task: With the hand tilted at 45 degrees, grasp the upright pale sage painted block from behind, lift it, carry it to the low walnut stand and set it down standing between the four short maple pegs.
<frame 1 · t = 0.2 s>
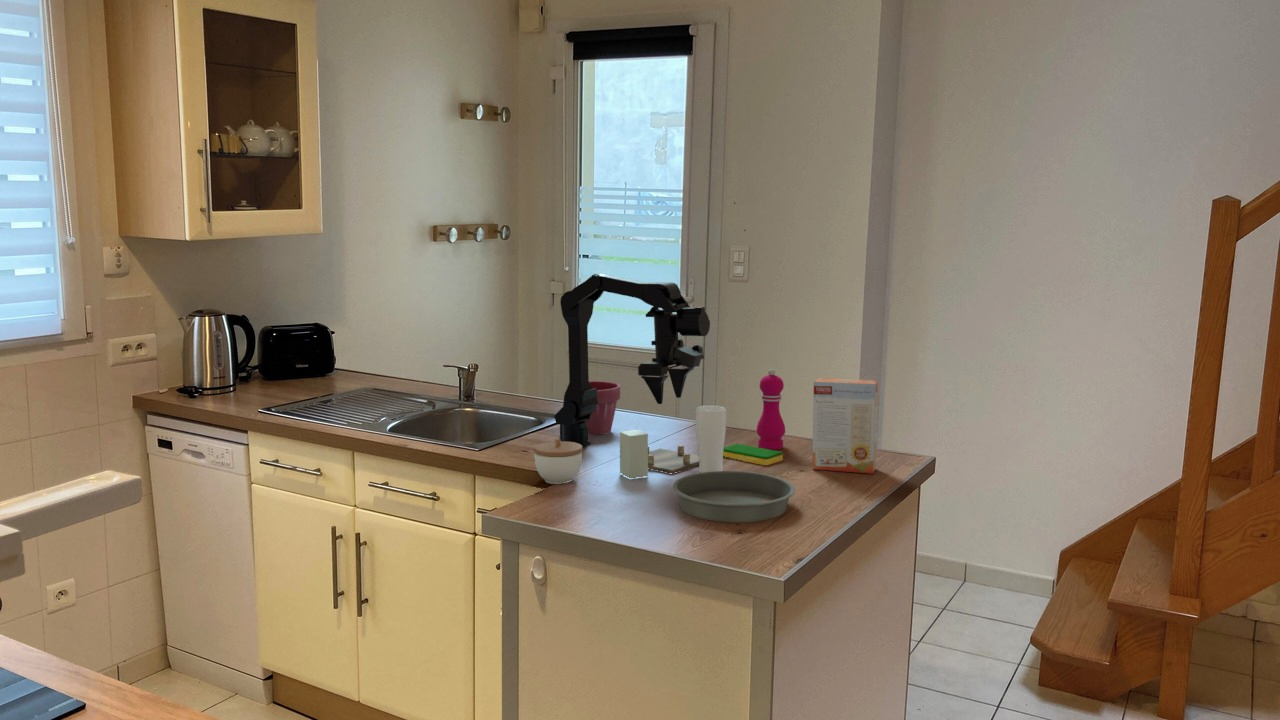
hand: (669, 400, 239), 14 cm above the worktop, tool pointing down, fingers open, 9 cm apart
dish sponge: (751, 460, 242), on the worktop
sage block: (633, 476, 225), on the worktop
drinking glass: (710, 473, 228), on the worktop
plant pot: (594, 432, 272), on the worktop
pepper mill: (770, 447, 253), on the worktop
lidded jar: (558, 481, 222), on the worktop
peg stand: (665, 463, 237), on the worktop
cake pan: (733, 508, 202), on the worktop
cracker box: (843, 470, 231), on the worktop
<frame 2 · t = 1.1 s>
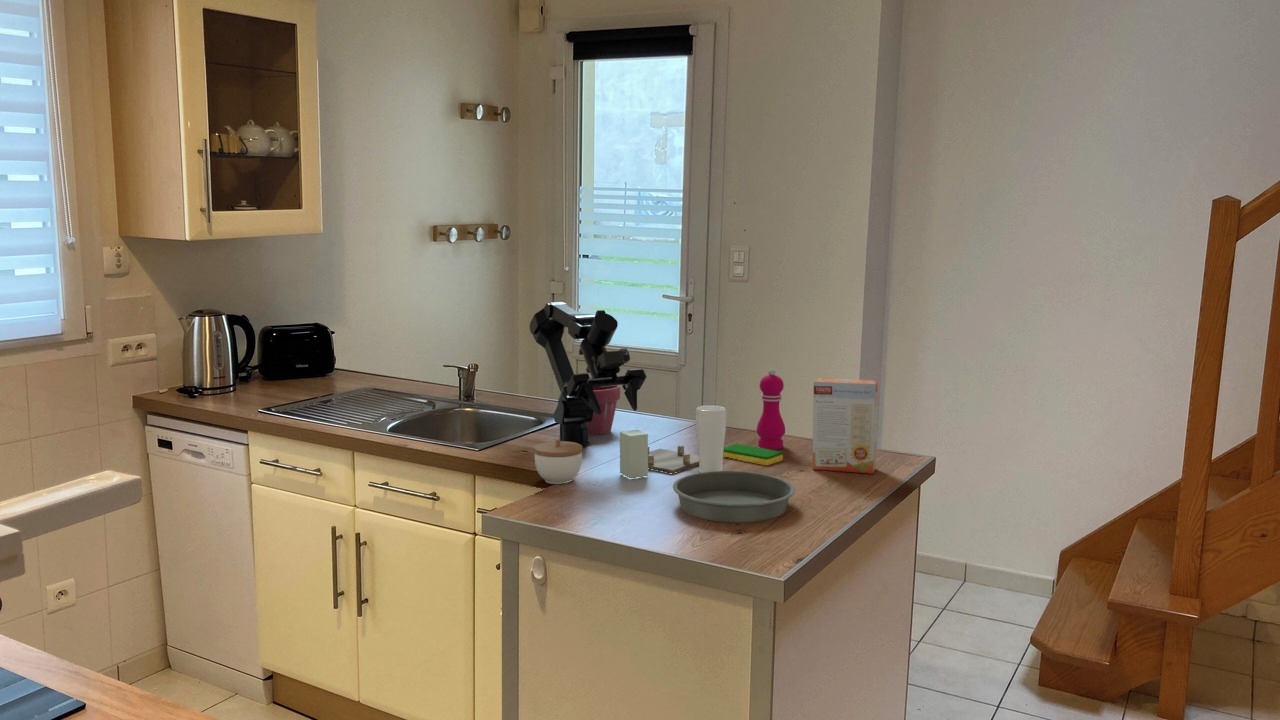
hand: (618, 411, 230), 13 cm above the worktop, tool tilted 45°, fingers open, 9 cm apart
nothing on the worktop moved.
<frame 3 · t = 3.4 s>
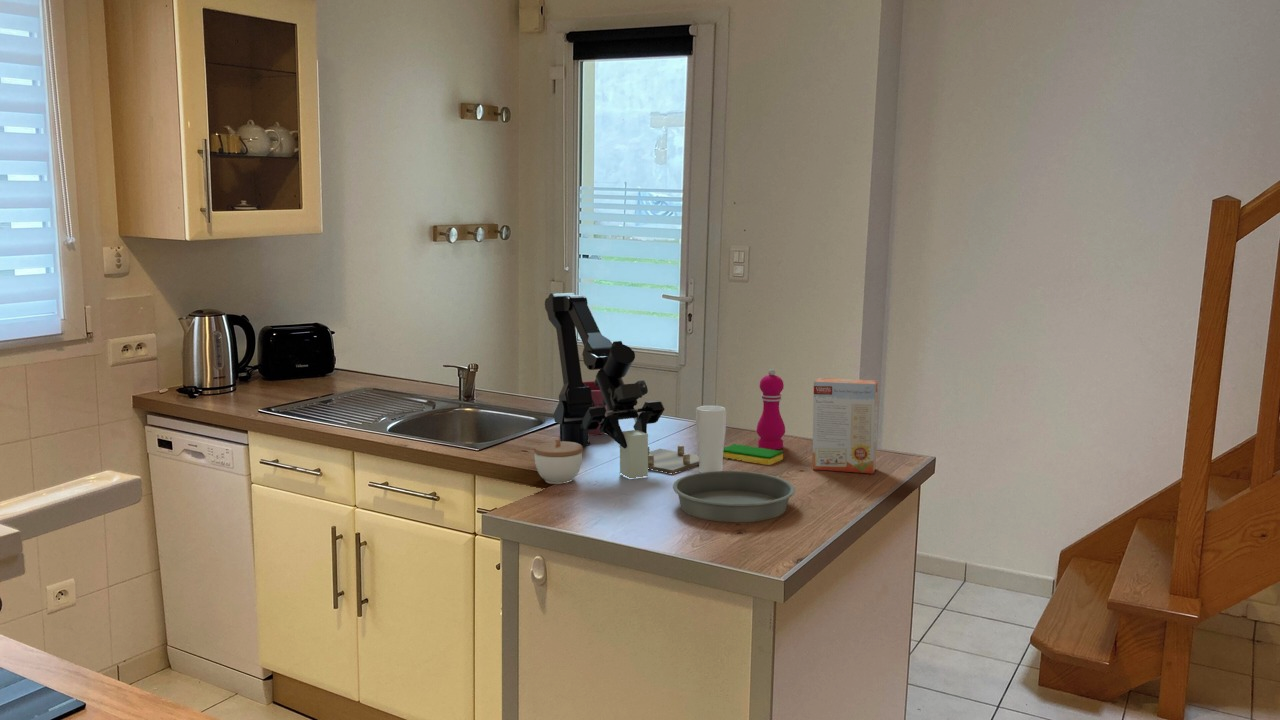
hand: (635, 446, 224), 7 cm above the worktop, tool tilted 45°, fingers closed on sage block, 5 cm apart
sage block: (633, 476, 225), on the worktop, touching gripper
everything else where it was.
when the fingers open (9 cm above the worktop, at t = 7.0 s): sage block stays where it is, resting on peg stand.
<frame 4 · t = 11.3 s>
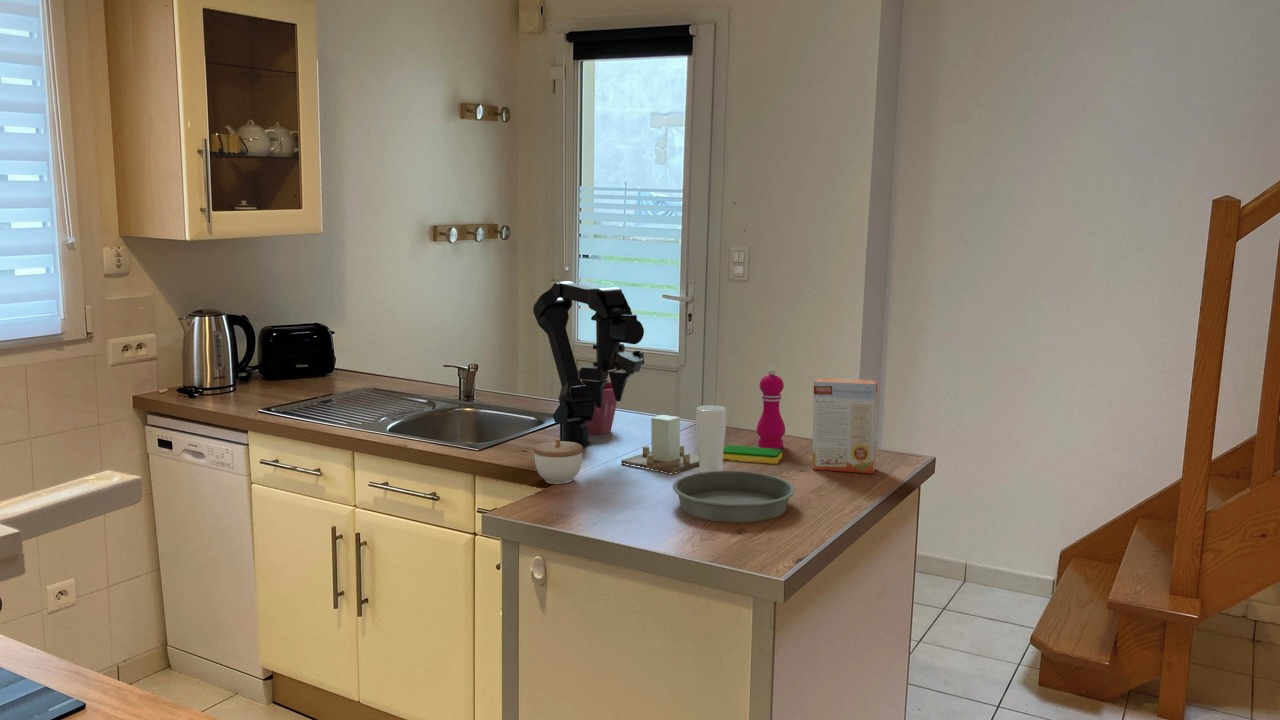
hand: (608, 404, 241), 13 cm above the worktop, tool pointing down, fingers open, 9 cm apart
sage block: (665, 458, 237), point 1 cm above the worktop, touching peg stand
at the end: sage block 0.1 cm off-centre on the peg stand, point 1.0 cm above the peg stand's base; sage block tilted 0°; the gripper is holding nothing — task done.
